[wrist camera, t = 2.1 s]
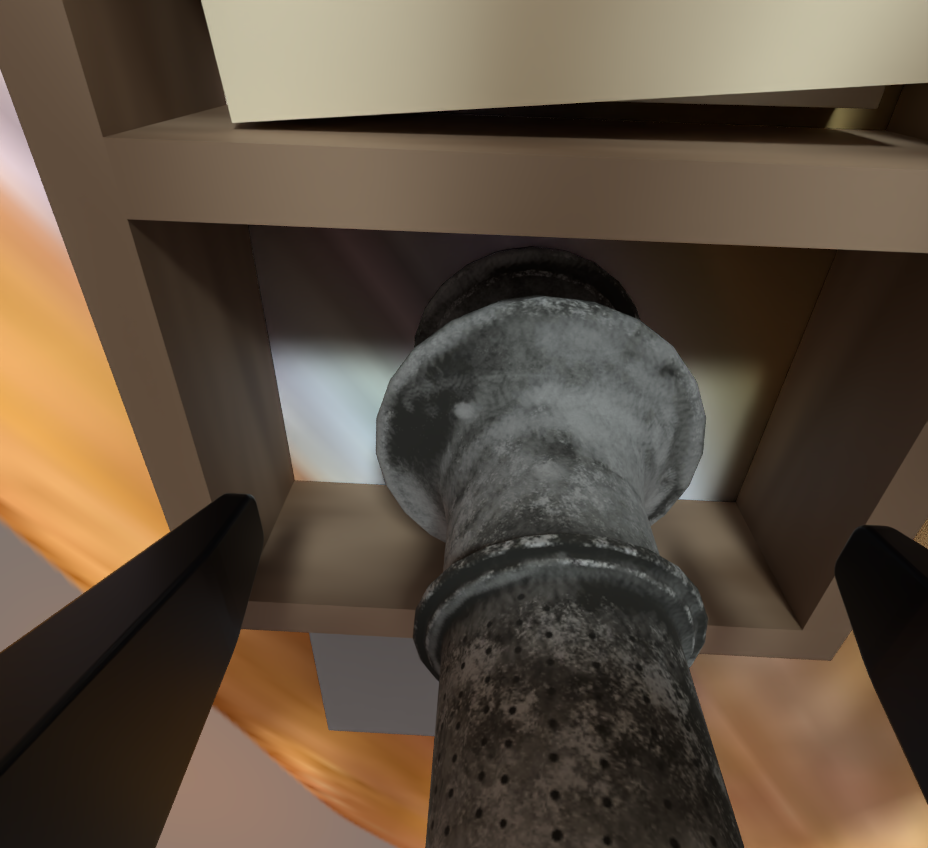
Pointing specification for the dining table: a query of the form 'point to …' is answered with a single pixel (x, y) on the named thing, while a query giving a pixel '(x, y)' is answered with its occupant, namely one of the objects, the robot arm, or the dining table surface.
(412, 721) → the slate pad
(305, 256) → the dining table surface
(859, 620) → the robot arm
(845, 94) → the offcut slab lower
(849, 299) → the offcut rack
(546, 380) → the grey turned upright piece
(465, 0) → the offcut slab upper
